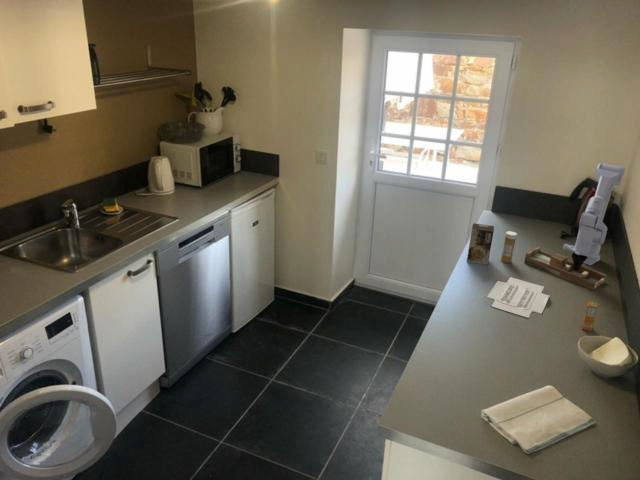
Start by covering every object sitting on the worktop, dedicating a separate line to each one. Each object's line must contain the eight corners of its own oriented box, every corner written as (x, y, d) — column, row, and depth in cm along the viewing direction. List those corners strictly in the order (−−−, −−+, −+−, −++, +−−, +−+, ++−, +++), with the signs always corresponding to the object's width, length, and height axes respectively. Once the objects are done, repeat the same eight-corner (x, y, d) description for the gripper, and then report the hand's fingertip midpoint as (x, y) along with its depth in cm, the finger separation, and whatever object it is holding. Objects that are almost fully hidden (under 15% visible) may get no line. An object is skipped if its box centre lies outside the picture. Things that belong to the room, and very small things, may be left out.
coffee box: (488, 259, 235) (495, 225, 229) (487, 265, 230) (494, 231, 223) (467, 255, 238) (473, 222, 231) (466, 261, 232) (471, 227, 226)
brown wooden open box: (536, 255, 241) (538, 246, 239) (604, 281, 220) (607, 272, 219) (524, 262, 234) (526, 253, 232) (592, 290, 214) (595, 280, 212)
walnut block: (554, 261, 232) (556, 253, 230) (565, 265, 228) (567, 257, 226) (549, 264, 228) (551, 256, 227) (560, 269, 225) (562, 260, 223)
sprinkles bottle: (513, 261, 234) (519, 233, 229) (506, 264, 232) (512, 236, 226) (505, 257, 238) (510, 230, 232) (498, 259, 235) (503, 232, 230)
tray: (481, 305, 201) (483, 297, 199) (500, 278, 223) (502, 271, 222) (537, 323, 191) (540, 314, 190) (552, 293, 213) (554, 285, 212)
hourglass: (581, 324, 190) (588, 300, 186) (591, 327, 189) (598, 303, 185) (580, 329, 188) (587, 305, 183) (591, 332, 186) (598, 307, 182)
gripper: (562, 237, 219) (555, 266, 225) (598, 249, 210) (589, 279, 215) (570, 232, 224) (562, 261, 229) (605, 244, 214) (596, 274, 220)
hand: (576, 270), depth 223 cm, fingers closed
